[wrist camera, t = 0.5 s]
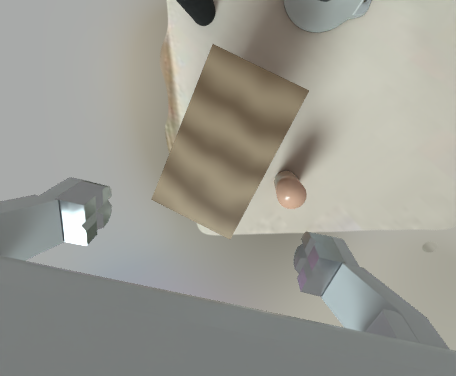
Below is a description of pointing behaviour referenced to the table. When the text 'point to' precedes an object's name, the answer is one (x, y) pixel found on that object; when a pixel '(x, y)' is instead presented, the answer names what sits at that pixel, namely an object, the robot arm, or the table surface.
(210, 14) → the drinking cup
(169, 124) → the table surface
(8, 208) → the robot arm
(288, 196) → the peach tapered cylinder
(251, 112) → the under counter shelf
